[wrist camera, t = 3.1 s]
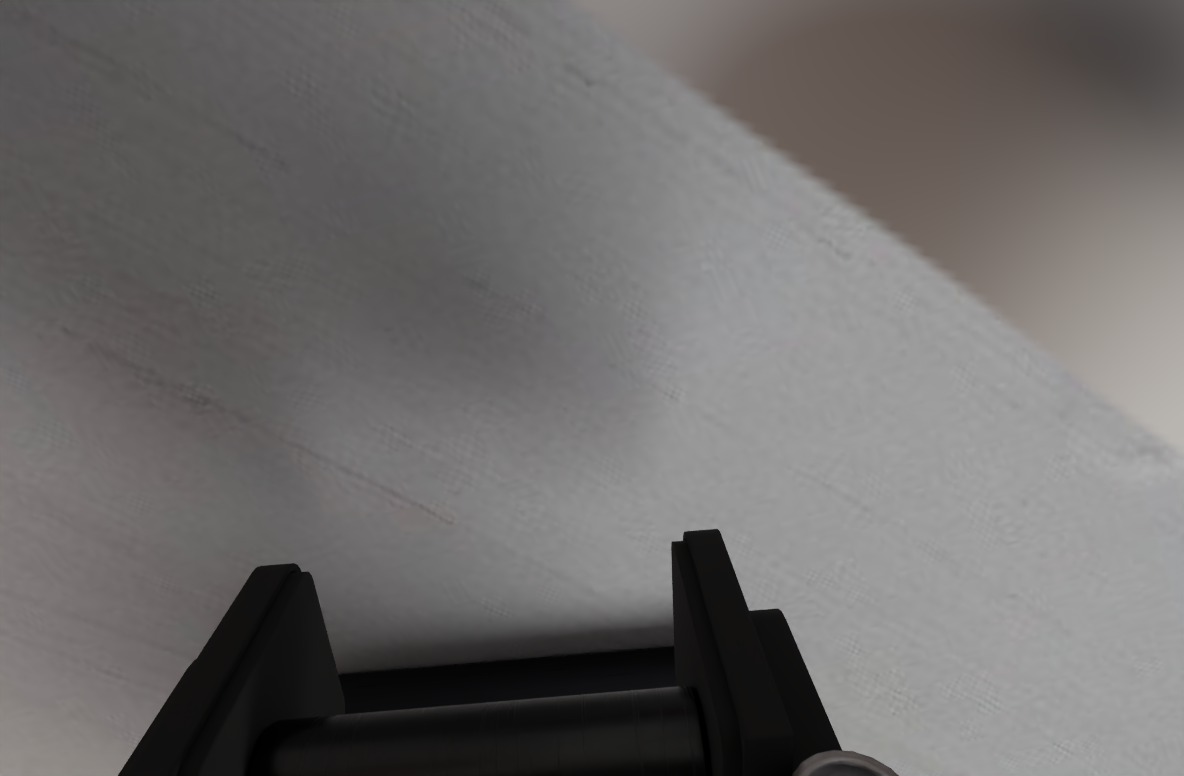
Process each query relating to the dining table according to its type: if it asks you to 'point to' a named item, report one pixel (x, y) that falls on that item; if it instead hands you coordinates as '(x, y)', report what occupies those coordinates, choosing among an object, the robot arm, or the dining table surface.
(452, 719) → the lever
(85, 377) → the dining table surface
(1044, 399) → the dining table surface
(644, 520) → the dining table surface
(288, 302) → the dining table surface
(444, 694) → the bracket
